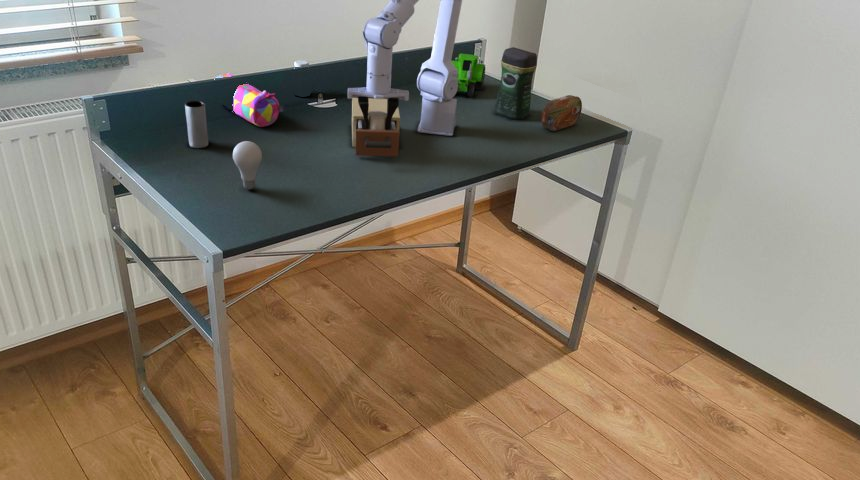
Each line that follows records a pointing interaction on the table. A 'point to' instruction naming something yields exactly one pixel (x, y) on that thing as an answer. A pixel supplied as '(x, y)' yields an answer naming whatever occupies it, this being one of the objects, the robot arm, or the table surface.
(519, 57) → the coffee jar
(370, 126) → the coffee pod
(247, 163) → the lightbulb
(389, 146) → the drawer
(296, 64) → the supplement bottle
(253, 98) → the pencil case
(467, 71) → the toy tractor
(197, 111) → the planter
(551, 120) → the tin
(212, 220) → the table surface
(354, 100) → the wooden drawer cabinet
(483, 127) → the table surface
